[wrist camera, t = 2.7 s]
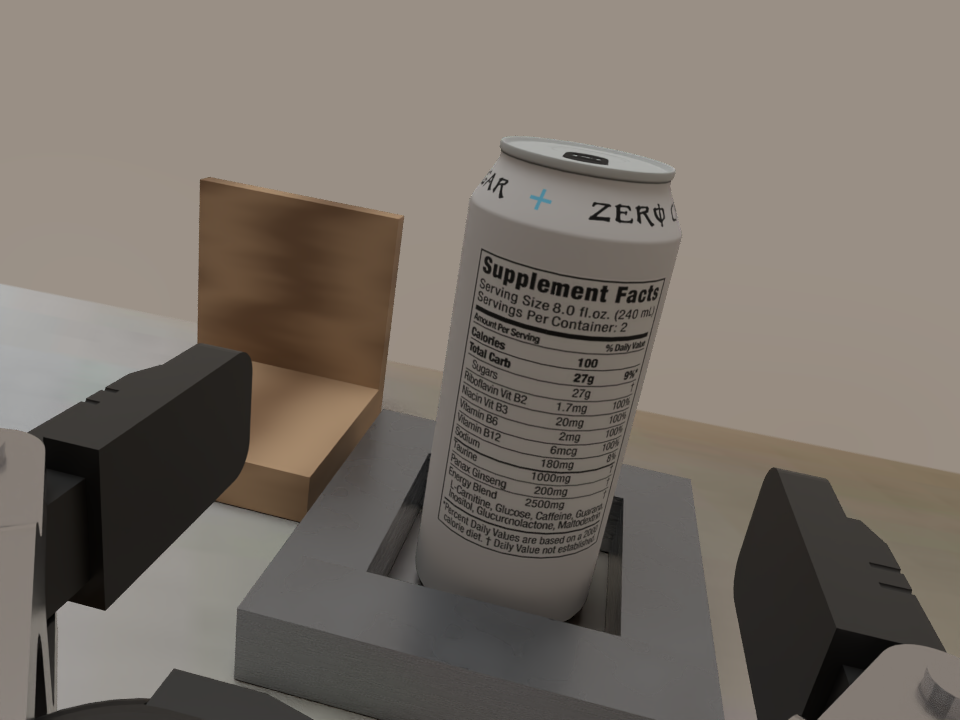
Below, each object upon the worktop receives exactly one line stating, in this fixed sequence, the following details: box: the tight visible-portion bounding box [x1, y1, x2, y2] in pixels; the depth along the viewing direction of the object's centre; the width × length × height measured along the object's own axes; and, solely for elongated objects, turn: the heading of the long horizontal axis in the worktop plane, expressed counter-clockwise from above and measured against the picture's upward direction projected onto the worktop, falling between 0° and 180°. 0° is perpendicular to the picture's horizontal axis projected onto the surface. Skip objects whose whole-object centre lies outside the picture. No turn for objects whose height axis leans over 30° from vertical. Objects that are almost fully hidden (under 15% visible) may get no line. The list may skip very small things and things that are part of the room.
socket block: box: [234, 409, 724, 720], centre depth 26 cm, size 13×13×2 cm
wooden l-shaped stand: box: [198, 177, 404, 522], centre depth 31 cm, size 9×9×10 cm
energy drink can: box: [416, 136, 682, 622], centre depth 24 cm, size 6×6×15 cm
